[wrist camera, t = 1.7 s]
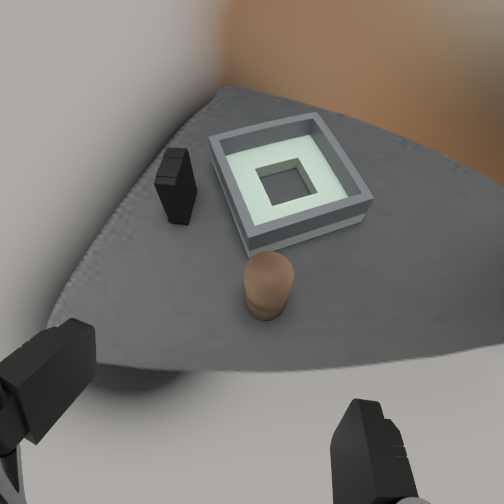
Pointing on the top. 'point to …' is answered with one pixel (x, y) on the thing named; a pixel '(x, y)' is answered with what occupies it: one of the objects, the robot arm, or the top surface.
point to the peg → (267, 284)
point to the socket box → (280, 159)
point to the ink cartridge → (176, 185)
